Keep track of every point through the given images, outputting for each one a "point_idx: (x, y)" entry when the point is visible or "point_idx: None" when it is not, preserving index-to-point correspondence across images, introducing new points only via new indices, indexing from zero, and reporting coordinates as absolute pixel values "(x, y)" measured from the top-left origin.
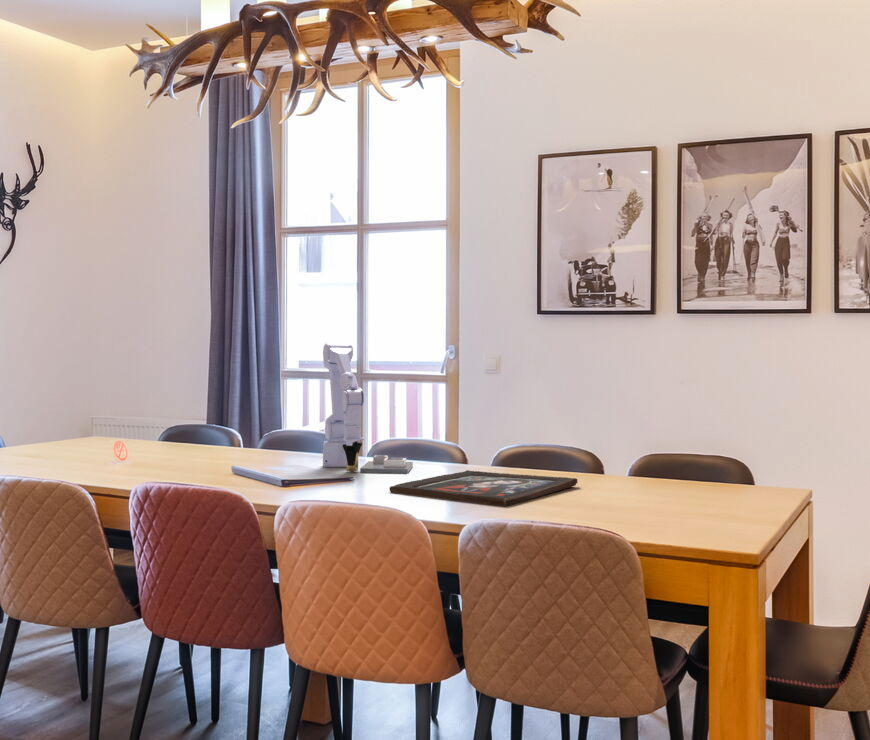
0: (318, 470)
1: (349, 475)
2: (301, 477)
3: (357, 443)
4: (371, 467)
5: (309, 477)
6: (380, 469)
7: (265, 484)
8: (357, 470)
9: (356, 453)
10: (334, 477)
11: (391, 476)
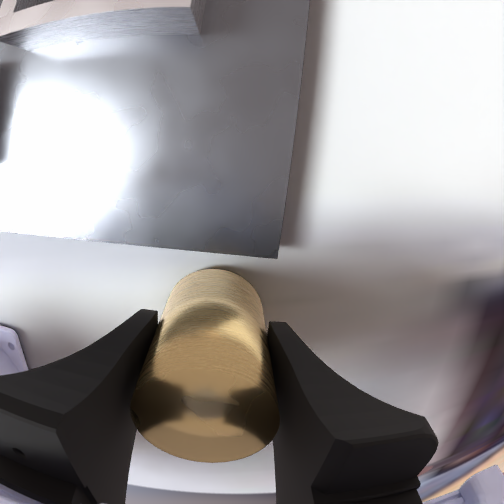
0: (170, 457)
1: (398, 309)
2: None
3: (80, 474)
4: (206, 151)
5: None
6: (302, 65)
7: (480, 468)
8: (235, 274)
9: (320, 384)
10: (445, 368)
11: (453, 30)
